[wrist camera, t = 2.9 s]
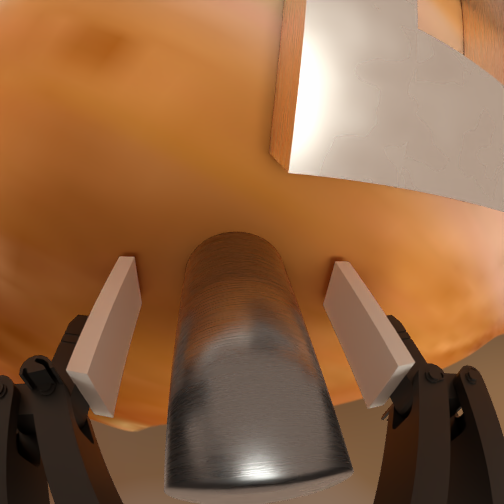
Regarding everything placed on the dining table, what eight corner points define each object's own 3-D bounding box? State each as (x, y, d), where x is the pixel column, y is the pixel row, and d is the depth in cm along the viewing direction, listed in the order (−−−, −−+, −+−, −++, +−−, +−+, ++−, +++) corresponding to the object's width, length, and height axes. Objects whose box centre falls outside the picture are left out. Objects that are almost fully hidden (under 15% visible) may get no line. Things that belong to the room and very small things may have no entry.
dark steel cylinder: (187, 312, 15) (178, 504, 6) (184, 230, 12) (143, 471, 4) (276, 313, 15) (321, 494, 7) (290, 233, 13) (386, 448, 4)
